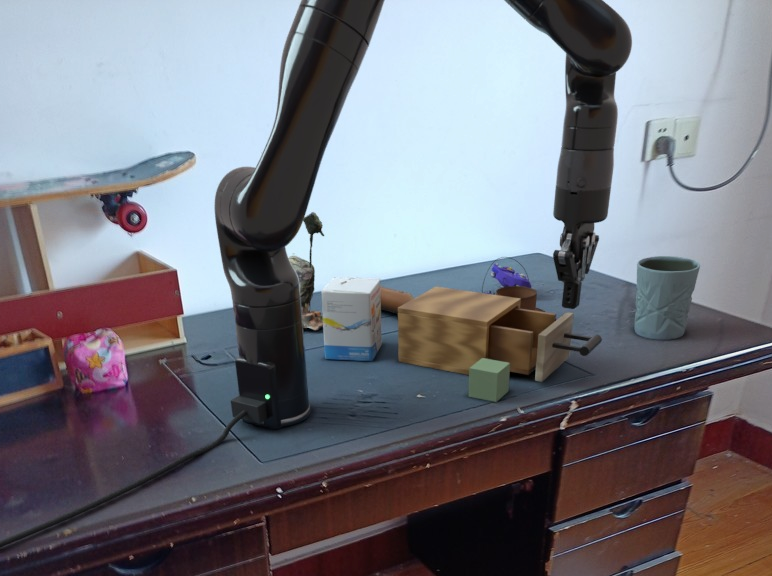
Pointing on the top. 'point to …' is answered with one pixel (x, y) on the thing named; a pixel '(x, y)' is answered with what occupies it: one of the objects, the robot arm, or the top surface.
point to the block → (489, 379)
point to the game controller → (508, 276)
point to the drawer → (535, 341)
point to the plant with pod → (308, 276)
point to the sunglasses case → (393, 299)
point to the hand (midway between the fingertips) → (570, 307)
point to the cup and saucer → (521, 296)
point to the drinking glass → (664, 296)
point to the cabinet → (449, 327)
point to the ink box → (352, 318)
